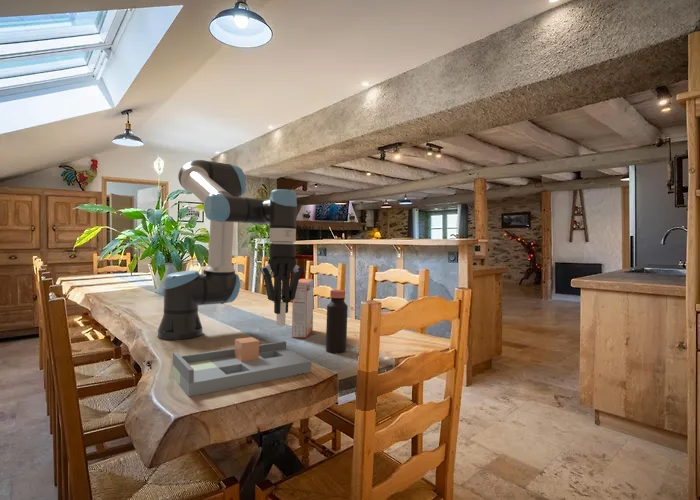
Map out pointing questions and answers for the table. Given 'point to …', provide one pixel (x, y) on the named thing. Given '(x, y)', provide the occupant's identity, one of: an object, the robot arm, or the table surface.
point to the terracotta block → (246, 349)
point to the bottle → (336, 323)
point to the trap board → (235, 368)
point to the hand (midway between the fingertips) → (280, 324)
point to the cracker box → (303, 309)
